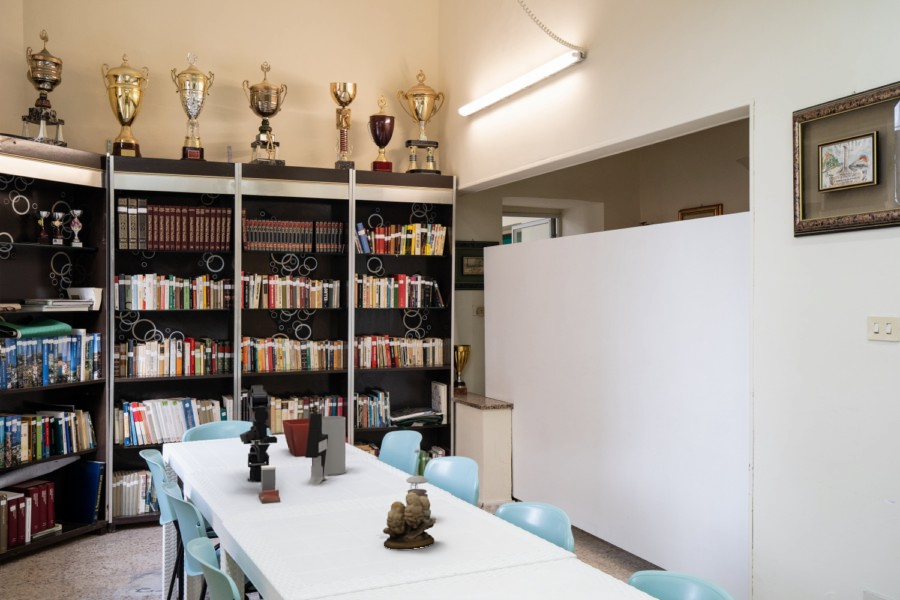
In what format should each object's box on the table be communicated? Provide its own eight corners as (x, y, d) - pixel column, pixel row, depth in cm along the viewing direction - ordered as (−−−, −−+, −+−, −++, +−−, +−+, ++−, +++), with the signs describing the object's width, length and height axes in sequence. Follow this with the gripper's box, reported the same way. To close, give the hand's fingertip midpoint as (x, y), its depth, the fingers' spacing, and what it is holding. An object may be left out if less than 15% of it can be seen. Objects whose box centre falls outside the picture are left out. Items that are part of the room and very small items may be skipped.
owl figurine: (428, 535, 269) (428, 485, 269) (443, 545, 259) (443, 493, 259) (377, 542, 262) (378, 490, 261) (391, 553, 251) (391, 498, 251)
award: (316, 486, 340) (316, 415, 339) (304, 485, 341) (304, 415, 341) (328, 478, 354) (328, 410, 354) (317, 477, 355) (317, 410, 355)
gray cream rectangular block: (261, 492, 321) (261, 465, 321) (274, 491, 323) (274, 464, 323) (262, 495, 317) (262, 467, 317) (275, 494, 319) (275, 467, 319)
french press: (406, 522, 285) (406, 452, 285) (400, 513, 296) (400, 446, 296) (433, 520, 288) (433, 450, 288) (425, 512, 299) (425, 445, 299)
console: (258, 496, 321) (258, 485, 321) (276, 495, 324) (276, 484, 324) (262, 503, 311) (262, 491, 311) (280, 501, 313) (280, 490, 313)
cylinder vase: (348, 470, 372) (348, 416, 372) (341, 476, 359) (341, 420, 359) (321, 469, 373) (321, 415, 373) (314, 475, 361) (314, 420, 360)
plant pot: (281, 452, 416) (281, 419, 416) (317, 449, 424) (317, 417, 424) (290, 458, 398) (290, 424, 398) (327, 455, 406) (327, 422, 406)
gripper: (231, 424, 336) (231, 462, 334) (253, 423, 322) (253, 462, 320) (255, 423, 343) (256, 460, 341) (277, 422, 330) (278, 461, 327)
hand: (260, 461), depth 332 cm, fingers closed
